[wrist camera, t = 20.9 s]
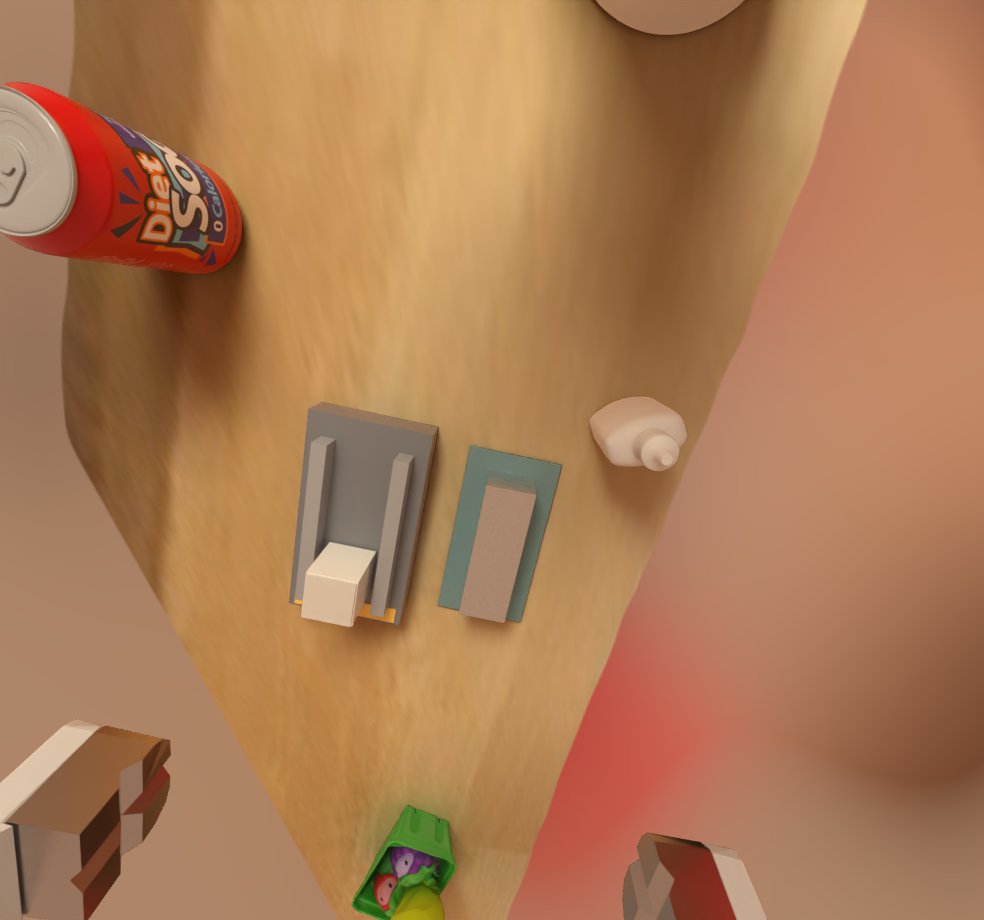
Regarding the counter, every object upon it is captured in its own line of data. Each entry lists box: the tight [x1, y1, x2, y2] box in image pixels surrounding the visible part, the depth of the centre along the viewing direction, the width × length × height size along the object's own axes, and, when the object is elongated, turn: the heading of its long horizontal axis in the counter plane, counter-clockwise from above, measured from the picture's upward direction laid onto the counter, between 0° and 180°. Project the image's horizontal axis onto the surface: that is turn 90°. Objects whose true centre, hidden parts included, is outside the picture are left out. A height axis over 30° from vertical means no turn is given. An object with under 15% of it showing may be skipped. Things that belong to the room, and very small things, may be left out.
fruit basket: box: [352, 805, 456, 920], centre depth 50 cm, size 11×9×11 cm
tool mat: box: [438, 446, 562, 622], centre depth 44 cm, size 16×8×1 cm, turn 168°
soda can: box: [0, 82, 242, 274], centre depth 30 cm, size 8×8×15 cm
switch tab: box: [301, 542, 376, 627], centre depth 39 cm, size 4×4×5 cm
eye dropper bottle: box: [589, 396, 687, 471], centre depth 35 cm, size 4×6×12 cm
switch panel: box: [289, 402, 438, 625], centre depth 41 cm, size 18×10×5 cm, turn 168°
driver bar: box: [459, 470, 536, 623], centre depth 42 cm, size 12×4×4 cm, turn 168°
